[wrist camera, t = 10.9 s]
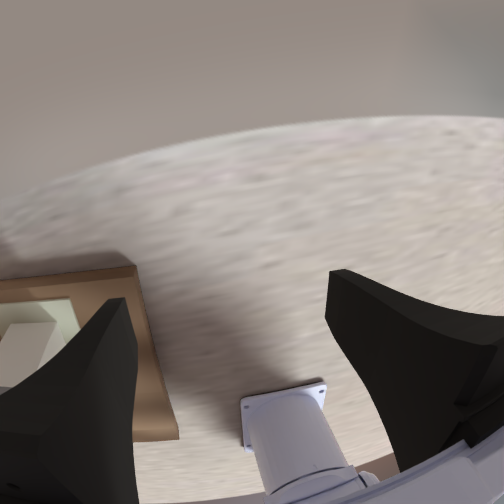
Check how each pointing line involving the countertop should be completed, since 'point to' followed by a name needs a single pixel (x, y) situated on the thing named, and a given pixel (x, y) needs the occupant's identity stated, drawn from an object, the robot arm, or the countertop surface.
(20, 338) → the plug
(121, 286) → the brown board with panel
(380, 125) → the countertop surface
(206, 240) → the countertop surface
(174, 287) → the countertop surface
